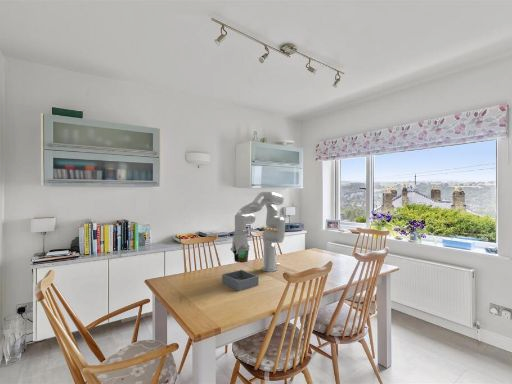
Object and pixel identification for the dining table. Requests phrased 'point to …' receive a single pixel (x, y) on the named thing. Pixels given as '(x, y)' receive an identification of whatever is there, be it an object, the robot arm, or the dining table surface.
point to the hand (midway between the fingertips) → (240, 258)
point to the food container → (242, 255)
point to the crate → (240, 280)
